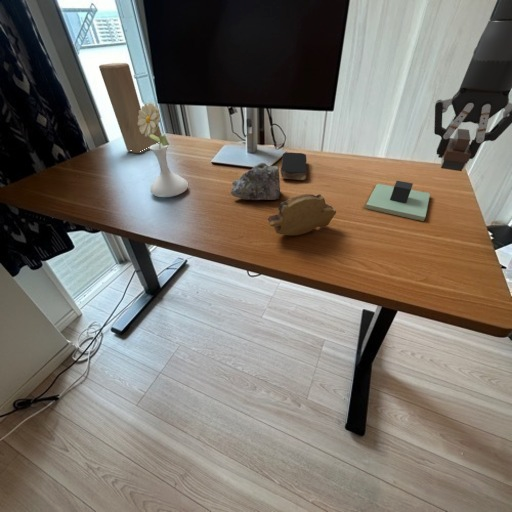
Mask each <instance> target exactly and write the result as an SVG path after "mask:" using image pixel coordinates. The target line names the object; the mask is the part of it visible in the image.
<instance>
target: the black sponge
mask: <svg viewBox="0 0 512 512" xmlns="http://www.w3.org/2000/svg"><path fill="white" fill-rule="evenodd" d="M280 178H282V179H287V180H298V181H305V180H306V179H307V155H306V154H305V153H303V152H284V153H283V154H282V160H281V167H280Z"/></svg>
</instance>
